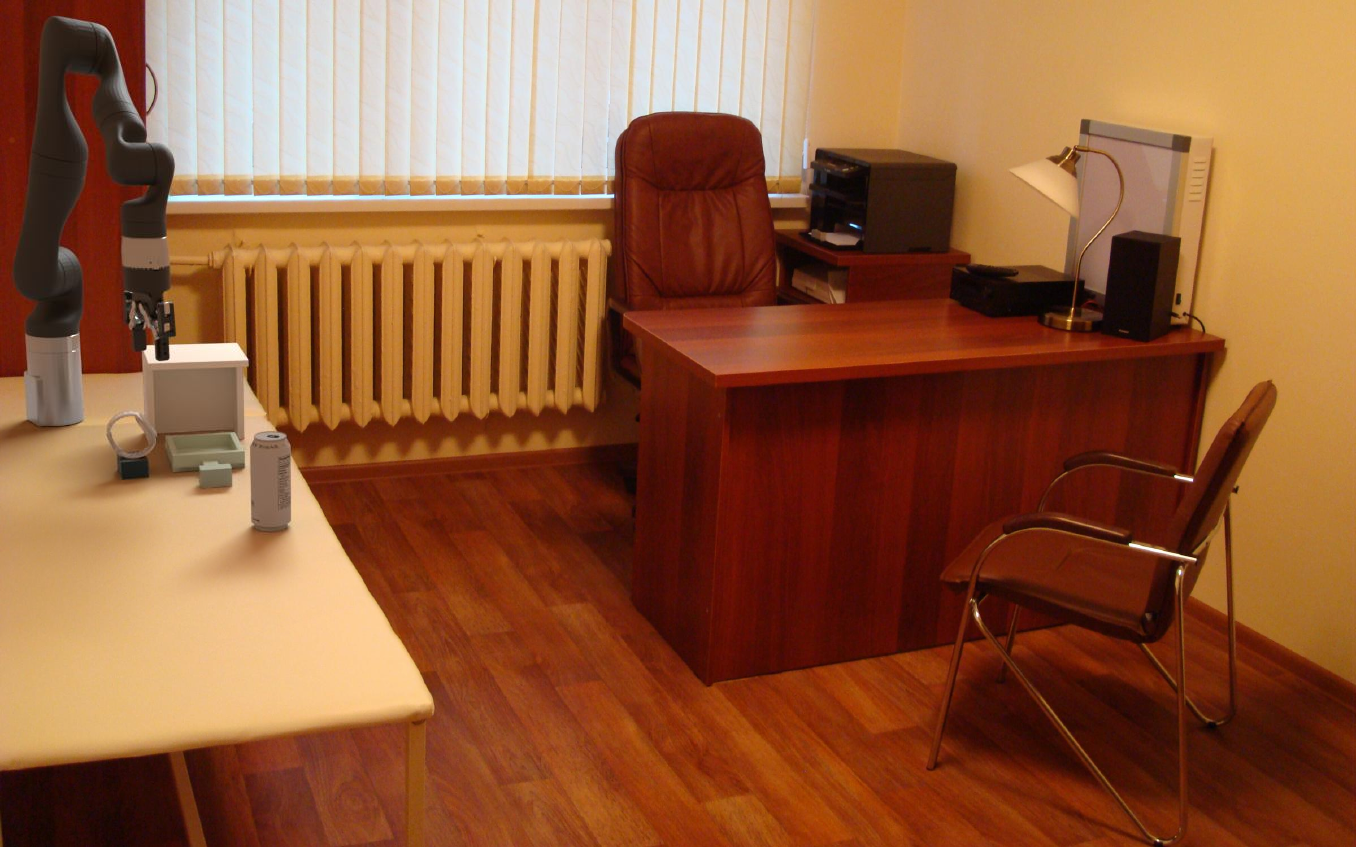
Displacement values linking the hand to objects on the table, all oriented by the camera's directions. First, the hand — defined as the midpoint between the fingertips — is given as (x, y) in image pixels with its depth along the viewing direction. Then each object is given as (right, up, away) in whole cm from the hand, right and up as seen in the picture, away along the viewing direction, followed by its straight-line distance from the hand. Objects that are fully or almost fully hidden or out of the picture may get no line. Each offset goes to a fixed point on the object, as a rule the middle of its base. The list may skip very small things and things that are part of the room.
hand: (151, 355), depth 221 cm
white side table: (+1, -15, +19) cm, 25 cm away
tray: (+8, -20, +5) cm, 22 cm away
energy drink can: (+27, -28, -19) cm, 43 cm away
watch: (-3, -21, 0) cm, 21 cm away
